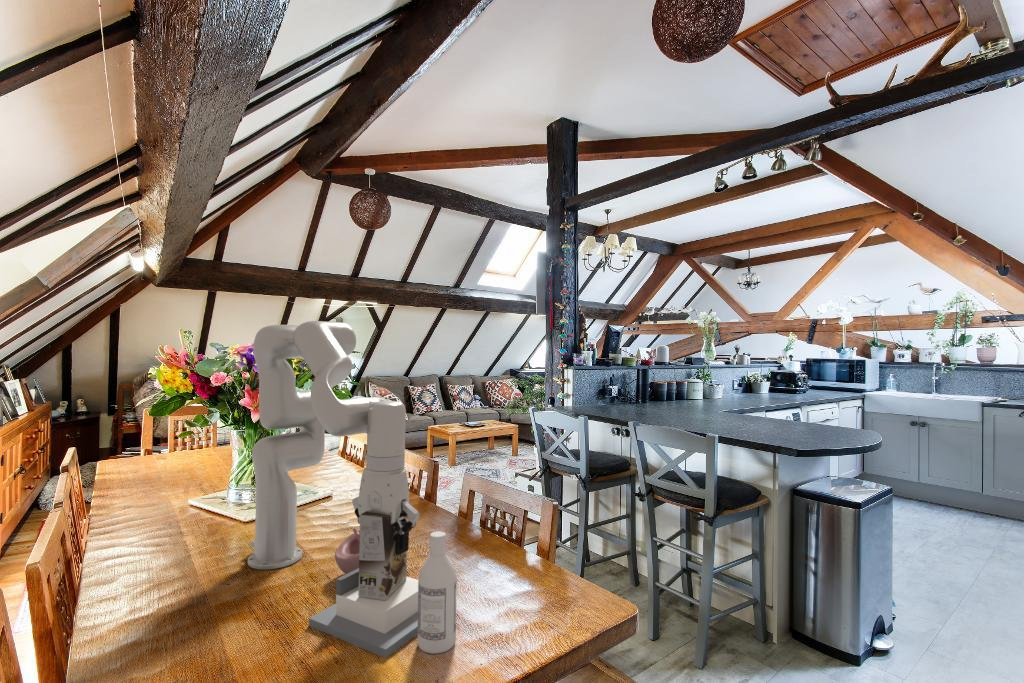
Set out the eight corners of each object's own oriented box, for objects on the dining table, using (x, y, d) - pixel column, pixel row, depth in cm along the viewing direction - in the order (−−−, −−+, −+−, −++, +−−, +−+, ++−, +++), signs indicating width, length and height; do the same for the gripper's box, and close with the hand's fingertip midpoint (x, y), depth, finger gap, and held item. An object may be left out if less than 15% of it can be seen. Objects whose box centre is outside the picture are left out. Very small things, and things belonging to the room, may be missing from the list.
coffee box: (387, 601, 95) (388, 517, 96) (357, 597, 97) (358, 514, 97) (407, 580, 104) (408, 502, 105) (379, 576, 106) (380, 500, 106)
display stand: (308, 626, 97) (309, 581, 97) (382, 584, 114) (383, 547, 114) (385, 658, 87) (386, 609, 87) (453, 607, 104) (454, 566, 104)
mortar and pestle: (327, 572, 120) (328, 524, 120) (375, 559, 127) (375, 514, 128) (344, 591, 111) (345, 539, 111) (395, 577, 118) (395, 528, 118)
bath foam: (438, 628, 96) (439, 524, 97) (463, 642, 92) (464, 533, 92) (409, 644, 91) (411, 534, 91) (434, 660, 86) (436, 544, 87)
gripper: (341, 460, 102) (339, 544, 102) (405, 472, 94) (403, 564, 93) (368, 454, 109) (366, 532, 108) (430, 464, 100) (429, 550, 100)
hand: (383, 547), depth 101 cm, fingers open, 9 cm apart
